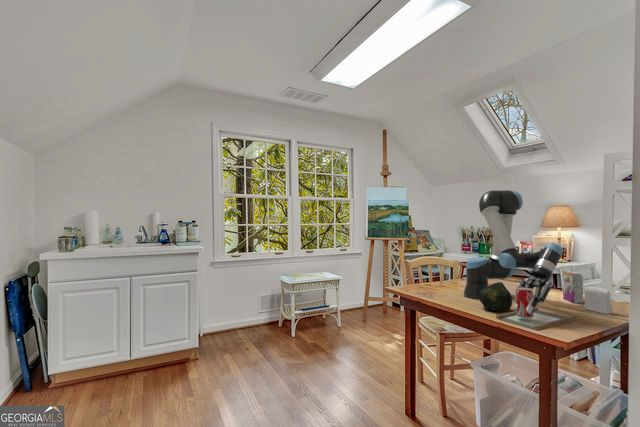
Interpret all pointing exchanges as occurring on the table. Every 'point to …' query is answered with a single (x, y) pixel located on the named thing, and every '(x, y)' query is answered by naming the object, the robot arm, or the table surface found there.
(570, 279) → the candy bar box
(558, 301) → the table surface
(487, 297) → the squash
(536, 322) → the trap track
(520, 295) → the soda can
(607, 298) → the photo printer
